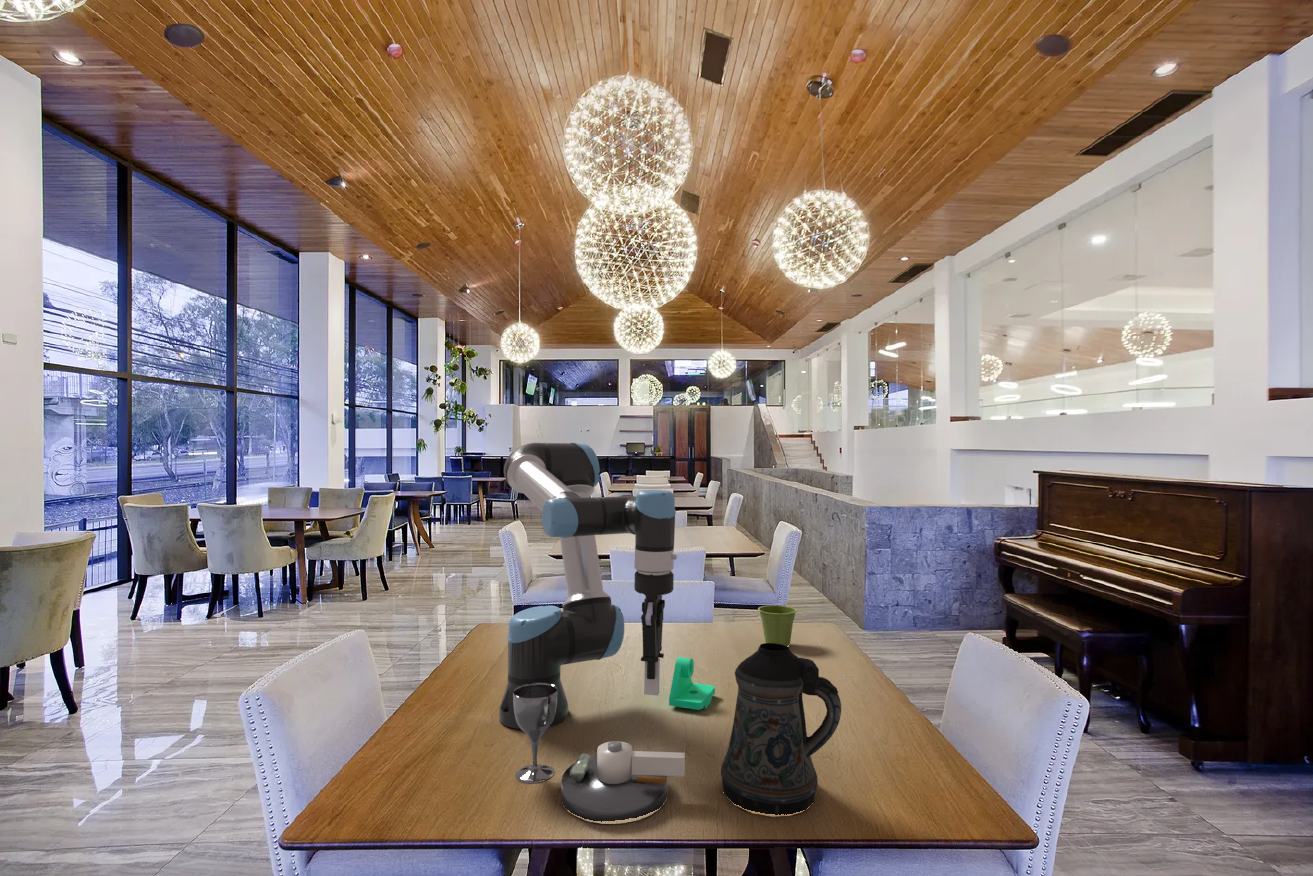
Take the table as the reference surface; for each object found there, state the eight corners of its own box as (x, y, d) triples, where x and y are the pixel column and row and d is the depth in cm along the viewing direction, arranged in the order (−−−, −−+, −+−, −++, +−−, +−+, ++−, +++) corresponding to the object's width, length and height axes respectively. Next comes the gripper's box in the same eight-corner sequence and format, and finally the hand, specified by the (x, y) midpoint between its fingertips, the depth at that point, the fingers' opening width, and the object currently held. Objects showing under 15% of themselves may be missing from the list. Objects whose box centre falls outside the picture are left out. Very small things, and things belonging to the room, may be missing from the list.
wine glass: (537, 759, 122) (538, 679, 122) (565, 772, 117) (566, 689, 117) (503, 775, 115) (504, 691, 116) (531, 789, 110) (532, 702, 111)
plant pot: (802, 644, 198) (802, 607, 198) (789, 654, 188) (788, 615, 188) (766, 638, 204) (766, 603, 205) (751, 647, 194) (751, 610, 195)
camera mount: (700, 715, 143) (700, 669, 144) (669, 710, 146) (669, 665, 146) (716, 696, 154) (715, 654, 155) (686, 692, 157) (686, 650, 158)
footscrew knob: (594, 783, 106) (594, 751, 106) (600, 766, 112) (600, 736, 112) (684, 786, 105) (684, 754, 105) (685, 769, 111) (685, 738, 111)
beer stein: (713, 770, 117) (713, 633, 118) (816, 767, 119) (815, 632, 120) (730, 821, 101) (730, 662, 102) (849, 816, 102) (848, 659, 103)
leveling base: (547, 819, 101) (547, 785, 101) (577, 766, 119) (578, 736, 119) (659, 829, 98) (659, 794, 99) (673, 773, 116) (673, 743, 116)
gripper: (668, 579, 115) (666, 709, 115) (677, 565, 128) (675, 682, 128) (628, 577, 116) (625, 705, 116) (641, 563, 129) (638, 679, 129)
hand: (651, 693), depth 122 cm, fingers closed
